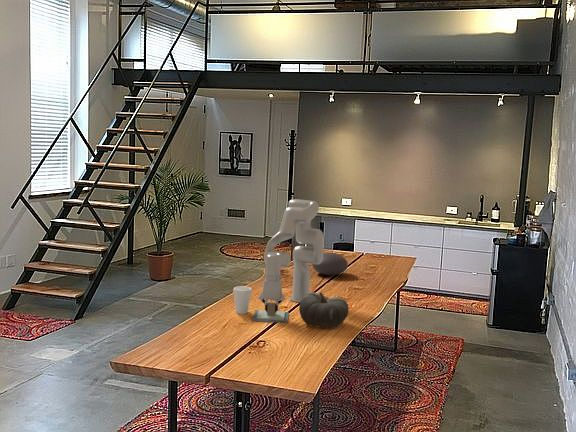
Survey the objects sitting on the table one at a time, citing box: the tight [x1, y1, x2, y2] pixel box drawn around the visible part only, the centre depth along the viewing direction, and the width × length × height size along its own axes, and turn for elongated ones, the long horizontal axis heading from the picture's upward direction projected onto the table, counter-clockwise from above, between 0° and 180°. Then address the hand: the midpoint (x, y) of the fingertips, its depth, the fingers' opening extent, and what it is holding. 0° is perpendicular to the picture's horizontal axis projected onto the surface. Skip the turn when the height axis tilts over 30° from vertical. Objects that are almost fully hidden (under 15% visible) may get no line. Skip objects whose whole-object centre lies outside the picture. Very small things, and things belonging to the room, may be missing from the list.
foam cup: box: [232, 285, 252, 315], centre depth 337 cm, size 10×9×13 cm
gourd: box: [298, 291, 349, 329], centre depth 322 cm, size 25×25×17 cm
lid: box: [257, 301, 286, 321], centre depth 331 cm, size 14×14×7 cm
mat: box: [251, 309, 290, 324], centre depth 331 cm, size 18×18×1 cm
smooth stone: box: [311, 252, 349, 276], centre depth 434 cm, size 25×25×15 cm
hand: (271, 311), depth 331 cm, fingers closed on lid, 4 cm apart
